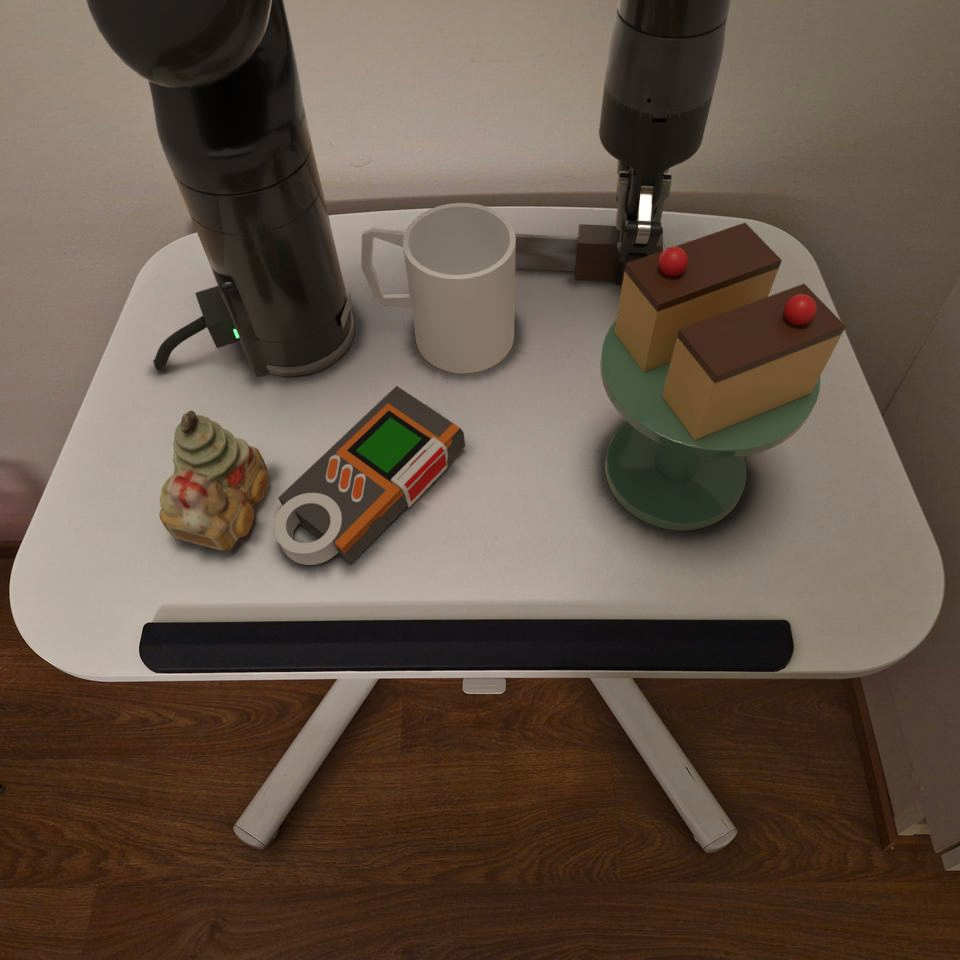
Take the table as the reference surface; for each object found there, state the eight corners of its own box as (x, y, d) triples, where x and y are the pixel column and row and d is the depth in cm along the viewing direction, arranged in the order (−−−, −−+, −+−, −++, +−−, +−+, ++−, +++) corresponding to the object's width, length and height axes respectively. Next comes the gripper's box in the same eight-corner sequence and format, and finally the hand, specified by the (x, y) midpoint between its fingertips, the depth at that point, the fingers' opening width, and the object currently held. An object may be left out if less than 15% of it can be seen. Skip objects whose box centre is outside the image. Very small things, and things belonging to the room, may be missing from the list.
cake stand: (641, 578, 53) (674, 482, 43) (553, 436, 59) (563, 325, 49) (801, 508, 55) (867, 402, 45) (700, 380, 62) (738, 262, 52)
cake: (694, 441, 44) (723, 357, 38) (613, 332, 49) (628, 243, 43) (811, 393, 46) (856, 306, 40) (722, 292, 50) (751, 201, 45)
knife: (655, 264, 69) (662, 227, 66) (655, 283, 68) (663, 247, 64) (485, 255, 70) (485, 219, 67) (483, 274, 69) (482, 238, 66)
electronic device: (250, 519, 53) (399, 379, 59) (263, 538, 56) (404, 402, 61) (319, 576, 51) (467, 424, 56) (329, 593, 53) (470, 446, 59)
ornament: (248, 562, 54) (201, 484, 46) (163, 552, 55) (102, 473, 46) (279, 467, 59) (242, 380, 50) (201, 458, 59) (150, 371, 51)
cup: (386, 289, 68) (369, 192, 60) (521, 306, 67) (524, 208, 58) (360, 360, 64) (338, 265, 56) (504, 379, 63) (504, 285, 54)
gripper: (606, 23, 58) (585, 216, 72) (603, 137, 50) (580, 326, 65) (709, 26, 57) (667, 220, 72) (722, 141, 50) (672, 331, 64)
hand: (626, 270), depth 68 cm, fingers closed on knife, 2 cm apart
